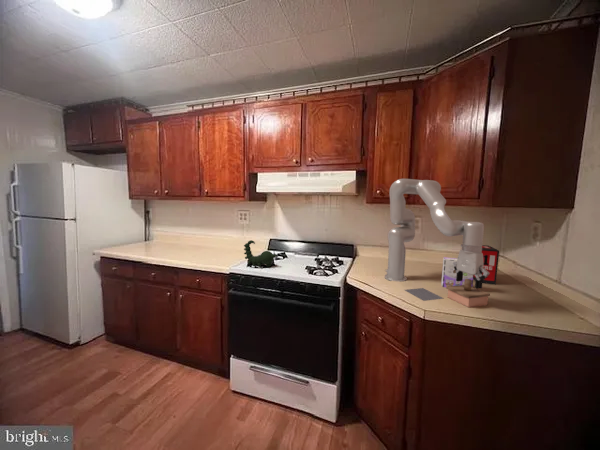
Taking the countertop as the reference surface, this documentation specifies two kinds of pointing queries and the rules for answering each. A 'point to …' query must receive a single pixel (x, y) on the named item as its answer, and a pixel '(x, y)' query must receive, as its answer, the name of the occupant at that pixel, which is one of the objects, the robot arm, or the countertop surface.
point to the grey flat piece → (423, 294)
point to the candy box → (452, 274)
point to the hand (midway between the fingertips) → (468, 284)
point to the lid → (468, 290)
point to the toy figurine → (260, 259)
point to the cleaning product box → (489, 264)
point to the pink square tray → (467, 299)
